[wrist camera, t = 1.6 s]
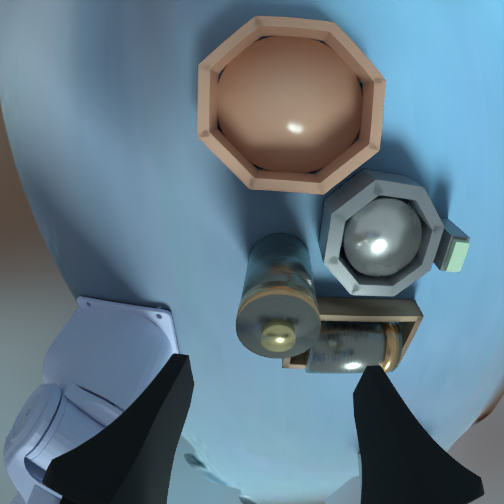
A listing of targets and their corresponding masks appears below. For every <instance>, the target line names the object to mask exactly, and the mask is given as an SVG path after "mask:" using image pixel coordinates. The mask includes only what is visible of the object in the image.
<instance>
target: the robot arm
mask: <svg viewBox="0 0 504 504" xmlns="http://www.w3.org/2000/svg"><path fill="white" fill-rule="evenodd" d="M77 304H78V306H79V308H78V309H77V310H76V311H75V313H74V314H73V315H72V317H71V318H70V319H69V320H68V322H67V323H66V324H65V326H64V327H63V329H62V330H61V331H60V333H59V334H58V335H57V337H56V338H55V339H54V341H53V342H52V343H51V345H50V346H49V348H48V350H47V352H46V354H45V357H44V361H43V369H42V373H43V380H44V383H45V384H42V385H40V386H39V387H38V388H37V389H36V390H35V391H34V392H33V393H32V394H31V396H30V397H29V398H28V399H27V401H26V402H25V404H24V405H23V407H22V409H21V410H20V412H19V414H18V416H17V418H16V420H15V422H14V424H13V427H12V429H11V431H10V433H9V434H8V436H7V437H6V440H5V444H4V449H3V455H4V465H5V468H6V470H7V472H8V474H9V476H10V478H11V480H12V481H13V483H14V485H15V486H16V488H17V490H18V492H17V494H16V495H15V497H14V498H13V500H12V502H11V503H10V504H166V503H167V495H168V488H169V482H170V476H171V470H172V464H173V460H174V455H175V451H176V447H177V444H178V441H179V438H180V435H181V432H182V429H183V426H184V423H185V420H186V417H187V413H188V410H189V407H190V403H191V398H192V393H193V388H194V380H193V376H192V371H191V366H190V360H189V355H183V354H179V349H178V344H177V340H176V335H175V330H174V325H173V319H172V315H171V313H170V312H169V311H168V310H163V309H156V308H149V307H142V306H135V305H129V304H122V303H116V302H110V301H104V300H98V299H93V298H87V297H82V296H79V297H78V298H77ZM158 314H160V315H161V316H160V315H158ZM353 403H354V417H355V423H356V429H357V435H358V441H359V448H360V454H361V464H362V489H361V504H468V503H470V502H472V501H473V500H475V499H477V498H479V497H481V496H483V495H484V489H483V484H482V480H481V477H479V476H477V475H476V474H474V473H473V472H471V471H470V470H468V469H466V468H465V467H464V466H462V465H461V464H460V463H458V462H457V461H456V460H455V459H453V458H452V457H451V456H450V455H449V454H448V453H447V452H446V451H445V450H443V449H442V448H441V447H440V446H439V445H438V444H437V443H436V442H435V441H434V440H433V439H432V437H431V436H430V435H429V434H428V433H427V432H426V431H425V429H424V428H423V427H422V426H421V425H420V423H419V422H418V421H417V419H416V418H415V417H414V415H413V414H412V413H411V411H410V410H409V408H408V407H407V405H406V404H405V403H404V401H403V400H402V398H401V397H400V395H399V394H398V392H397V391H396V389H395V387H394V386H393V384H392V383H391V381H390V380H389V378H388V376H387V375H386V373H385V372H384V370H383V368H382V367H381V366H380V365H373V366H366V368H365V371H364V373H363V375H362V377H361V379H360V381H359V383H358V385H357V387H356V389H355V391H354V392H353Z"/></svg>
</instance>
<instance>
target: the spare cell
mask: <svg viewBox="0 0 504 504" xmlns="http://www.w3.org/2000/svg"><path fill="white" fill-rule="evenodd" d="M320 329H321V330H320V335H319V337H318V339H317V341H316V342H315V344H314V345H313V346H312V347H311V348H310V349H308V350H307V351H305V369H306V372H307V373H364V371H365V368H366V366H373V365H380V366H381V367H382V368H383V370H384V372H385V373H388V372H392V371H394V370H395V369H396V367H397V366H398V364H399V361H400V358H401V354H402V334H401V330H400V327H399V325H398V324H397V323H396V322H360V321H322V320H321V328H320Z"/></svg>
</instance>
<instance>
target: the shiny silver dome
mask: <svg viewBox="0 0 504 504" xmlns="http://www.w3.org/2000/svg"><path fill="white" fill-rule="evenodd" d="M421 238H422V228H421V223H420V220H419V218H418V216H417V214H416V213H415V211H414V210H413V209H412V208H411V207H410V206H409V205H408V204H406V203H405V202H404V201H403V200H401V199H399V198H397V197H390V196H383V195H379V196H377V197H376V198H375V199H373V200H372V201H371V202H369V203H368V204H367V205H366V206H364V207H363V208H362V209H360V210H359V211H358V212H356V213H355V214H354V215H353V216H351V217H350V218H349V219H347V220H346V222H345V225H344V231H343V237H342V244H343V248H344V251H345V253H346V256H347V258H348V260H349V262H350V263H351V265H352V266H353V267H354V268H355V269H356V270H357V271H359V272H361V273H362V274H365V275H368V276H373V277H382V276H388V275H391V274H394V273H396V272H398V271H400V270H401V269H403V268H404V267H405V266H406V265H407V264H408V263H409V262H410V261H411V260H412V259H413V258H414V256H415V255H416V253H417V251H418V249H419V246H420V243H421Z"/></svg>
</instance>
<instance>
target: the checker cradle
mask: <svg viewBox="0 0 504 504" xmlns="http://www.w3.org/2000/svg"><path fill="white" fill-rule="evenodd" d="M378 195H383V196H390V197H397V198H404V199H407V200H408V202H409V203H410V205H411V207H412V208H413V210H414V211H415V213H416V214H417V216H418V218H419V220H420V223H421V228H422V238H421V243H420V246H419V249H418V251H417V253H416V255H415V256H414V258H413V259H412V260H411V261H410V262H409V263H408V264H407V265H406V266H405V267H404V268H403V269H401V270H400V271H398V272H396V273H394V274H391V275H388V276H382V277H373V276H368V275H365V274H362V273H361V272H359V271H357V270H356V269H355V268H354V267H353V266H352V265H351V263H350V262H349V260H348V259H347V258H346V257H345V255H344V254H343V253H342V252H341V251H340V248H341V242H342V237H343V231H344V225H345V221H346V220H347V219H349V218H350V217H351V216H353V215H354V214H355V213H356V212H358V211H359V210H360V209H362V208H363V207H364V206H366V205H367V204H368V203H369V202H371V201H372V200H373V199H375V198H376V197H377V196H378ZM469 239H470V237H468V236H467V235H466V234H465V233H464V232H463V231H462V230H461V229H459V228H458V227H457V226H456V225H455V224H454V223H453V222H451V221H450V220H449V219H447V218H440V217H439V215H438V213H437V211H436V209H435V207H434V205H433V203H432V201H431V199H430V198H429V196H428V194H427V192H426V190H425V188H424V187H423V186H421V185H420V184H418V183H417V182H415V181H414V180H412V179H411V178H409V177H408V176H405V175H399V174H393V173H387V172H380V171H374V170H367V169H362V170H361V171H360V172H358V173H357V174H356V175H354V176H353V177H352V178H351V179H349V180H348V181H347V182H346V183H344V184H343V185H342V186H340V187H339V188H338V189H337V190H335V191H334V192H333V193H332V194H330V195H329V196H328V197H326V198H325V200H324V208H323V216H322V223H321V230H320V237H319V247H320V251H321V255H322V259H323V263H324V264H325V266H326V267H327V268H328V269H329V270H330V271H331V272H332V273H333V275H334V276H335V277H336V278H337V279H338V280H339V282H340V283H341V284H342V285H343V286H344V287H345V288H346V290H347V291H348V292H349V293H350V294H351V295H362V296H395V295H397V294H398V293H400V292H401V291H402V290H404V289H405V288H407V287H408V286H409V285H411V284H412V283H414V282H415V281H416V280H418V279H419V278H421V277H422V276H423V275H425V274H426V273H427V272H429V271H430V270H431V267H432V264H433V262H434V263H435V265H436V266H437V267H438V269H439V270H440V271H449V272H460V270H461V268H462V265H463V262H464V259H465V257H466V254H467V251H468V248H469V245H470V243H469Z"/></svg>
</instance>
